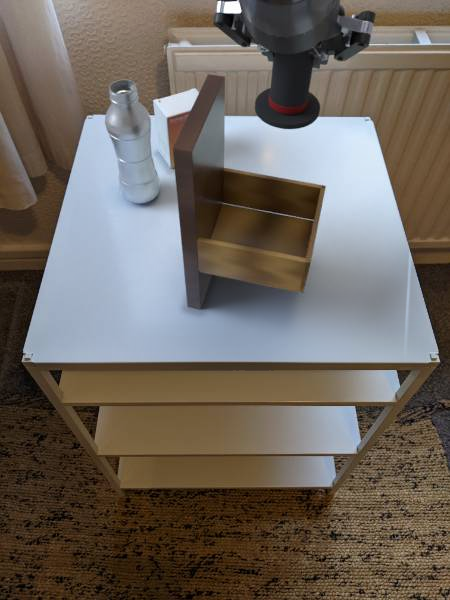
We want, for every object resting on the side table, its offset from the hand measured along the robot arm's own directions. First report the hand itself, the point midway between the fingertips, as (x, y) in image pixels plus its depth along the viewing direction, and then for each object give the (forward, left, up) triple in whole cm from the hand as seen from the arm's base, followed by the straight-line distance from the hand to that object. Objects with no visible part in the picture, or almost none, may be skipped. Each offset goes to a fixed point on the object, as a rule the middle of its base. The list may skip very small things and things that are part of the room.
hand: (295, 54), depth 51 cm
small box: (+20, -19, -32) cm, 42 cm away
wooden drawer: (+2, +6, -32) cm, 33 cm away
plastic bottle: (+24, -7, -32) cm, 41 cm away
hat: (0, +2, -5) cm, 5 cm away
